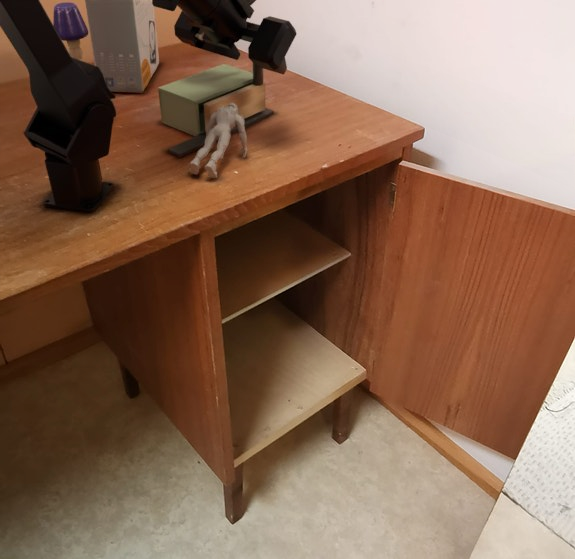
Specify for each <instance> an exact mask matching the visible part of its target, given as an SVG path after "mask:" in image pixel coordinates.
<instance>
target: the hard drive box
mask: <svg viewBox="0 0 575 559" xmlns="http://www.w3.org/2000/svg"><path fill="white" fill-rule="evenodd" d="M84 4H85V10H86V16H87V17H86V18H87V24H88V32H89V37H90V43H91V50H92V58H93V65H94V66H97V67H99V69H100V71H101V72H102V74H103V76H104V79H105V82H106V85H107V87H108V88H109V90H110V91H111V92H112V93H113V92H115V93H137V94H139V93H140V94H143V93H144V91H145V90H146V88H147V87H148V85H149V82H150V81H151V79H152V77H153V75H154V73H155V72H156V71H157V68H158V67H159V65H160V58H159V57H160V55H159V46H158V45H159V44H158V34H157V26H156V25H157V24H156V15H155V6H153V4H152V0H84Z"/></svg>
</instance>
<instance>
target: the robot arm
mask: <svg viewBox="0 0 575 559" xmlns="http://www.w3.org/2000/svg"><path fill="white" fill-rule="evenodd" d="M256 1H257V0H152V4H153V6H154V8H159V9H162V10H166V11H170V12H174V11H175V10H176V9H177V7H178V8H179V9H180V10H181V11H180V14H179V16H178V18H177V19H176V21H175V23H174V25H173V28H174V36H175V37H176V38H177V39H178V40H179V41H180V42H182V43H183V44H187V45H189V46H191V47H193V48H196V49H200V50H203V51H206V52H210V53H213V54H216V55H220V56H222V57H225V58H229V59H232V60H236V61H238V60H239V59H240V57H241V52H240V50H239V48H238V47H237V46H236V44H235V43H238V42H239V41H240V40H242V41H244V42H247V43H249V46H248V47H247V54H248V55H247V56H248V57H247V58H248V59H249V60H250V61H251V62H252V64H253V63H255V64H256V65H255V66H257V67H260V68H263V70H267V71H270V72H274V73H276V74H280V75H285V73H286V72H287V70H288V65H287V60H286V56H287V54H288V52H289V50H290V48H291V46H292V44H293V43H294V40H295V38H296V36H297V31H296V30H297V29H295V27H294V26H293V24H292V23H291V22H290V20H287V19H282V18H279V17H274V16H266V17H263V18H262V21H261V22H260V24H257V23H255V22H250V21H247V20H248V19H251V18H252V16H253V14H254V12H255V10H254V8H253V6H252V5H253V4H254V3H255V2H256ZM51 20H52V19H50V17H49V15H48V13H47V11H46V10H45V8H44V6H43V4H42V3H41V1H40V0H0V28H1V31H3V33H4V35H5V36H6V38H7V39H8V41H9V42H10V44H11V45H12V47H13V49H14V51H15V52H16V53H17V55H18V56H19V58H20V59H21V61H22V62H23V64H24V67H25V68H26V69H27V72H28V75H29V85H30V86H29V87H30V93H31V96H32V98H33V100H34V103H35V105H36V109H35V111H34V113H33V114H32V116H31V118H30V120H29V122H28V124H27V126H26V127H25V130H24V132H23V135H24V136H25V139H27V141H28V142H29V144H30V145H31V146H32V147H33V148H36V149H38V150H40V151H43V152H44V158H45V159H44V165H45V169H46V174H47V177H48V181H49V184H50V189H51V193H50V194H49V195H48V196H47V197H46V198H45V199H43V201H42V202H43V206H44V207H45V208H53V209H54V208H55V209H62V210H70V211H78V212H87V213H94V212H95V211H96V210H97V209H98V208H99V206H100V205H101V204H102V203H103V202H104V200H105V199H106V198H107V197H108V196H109V195H110V194H111V192H112V191H113V190H114V189H115V183H114V182H109V181H103V175H102V171H101V165H100V164H101V163H100V159H102V158H105V157H107V156H109V155H110V148H111V140H112V132H113V125H114V120H115V118H116V116H117V111H116V110H117V109H116V107H115V103H114V101H113V100H114V99H116V94H114V93H113V92H111V91H110V90H109V88H108V87H107V85H106V82H105V79H104V76H103V74H102V72H101V71H100V69H99V67H97V66H95V64H91V63H89V62H86V61H85V60H84V61H81V60H78V59H75V58H73V57H71V56H70V54H69V50H68V49H67V47H66V45H65V44H64V42H63V40H61V38H60V36H59V35H58V33H57V31H56V29H55V27H54V26H53V22H52V21H51Z"/></svg>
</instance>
